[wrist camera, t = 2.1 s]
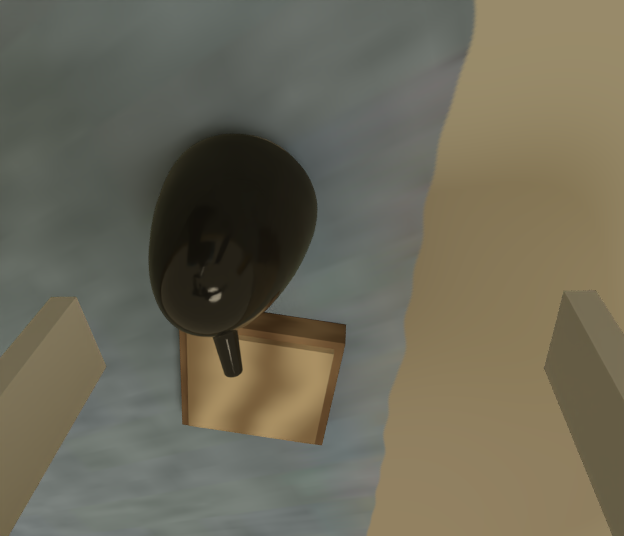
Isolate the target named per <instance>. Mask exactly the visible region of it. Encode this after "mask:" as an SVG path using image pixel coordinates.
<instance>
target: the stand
mask: <svg viewBox="0 0 624 536" xmlns="http://www.w3.org/2000/svg"><path fill="white" fill-rule="evenodd" d="M179 334H180V364H181V394H182V424H183V425H189V426H195V427H202V428H209V429H215V430H222V431H229V432H235V433H242V434H249V435H255V436H262V437H269V438H275V439H282V440H289V441H295V442H302V443H309V444H317V445H322V443H323V438H324V434H325V430H326V425H327V421H328V417H329V412H330V408H331V404H332V399H333V395H334V391H335V386H336V382H337V378H338V373H339V369H340V364H341V360H342V356H343V351H344V347H345V337H346V325H344V324H337V323H331V322H324V321H318V320H311V319H305V318H298V317H291V316H285V315H278V314H272V313H265V312H263V313H262V314H261V315H260V316H259V317H258V318H256V319H255V320H254V321H252V322H251V323H250V324H248V325H247V326H245V327H242V328H240V329H238V337H239V344H240V351H241V359H242V366H243V371H242V373H241V374H240V375H239V376H237V377H233V378H230V377H227V376H225V374H224V371H223V368H222V365H221V362H220V359H219V356H218V353H217V350H216V346H215V343H214V340H213V337H199V336H194V335H190V334H187V333H185V332H183V331H181V330H179Z"/></svg>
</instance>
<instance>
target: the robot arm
mask: <svg viewBox="0 0 624 536" xmlns="http://www.w3.org/2000/svg"><path fill="white" fill-rule="evenodd" d="M105 368H106V365H105V362H104V360H103V358H102V355H101V353H100V351H99V349H98V346H97V344H96V342H95V339H94V337H93V335H92V332H91V330H90V328H89V325H88V323H87V321H86V318H85V316H84V314H83V311H82V309H81V307H80V304H79V302H78V300H77V297H51V298H50V299H49V300H48V301H47V302H46V304H45V305H44V306H43V307H42V308H41V310H40V311H39V312H38V313H37V314H36V316H35V317H34V318H33V319H32V320H31V322H30V323H29V324H28V325H27V326H26V328H25V329H24V330H23V331H22V332H21V334H20V335H19V336H18V337H17V338H16V340H15V341H14V342H13V343H12V344H11V346H10V347H9V348H8V349H7V350H6V352H5V353H4V354H3V355H2V356H1V358H0V536H9V534H10V532H11V531H12V529H13V527H14V526H15V524H16V522H17V520H18V519H19V517H20V515H21V513H22V512H23V510H24V508H25V506H26V505H27V503H28V501H29V500H30V498H31V496H32V494H33V493H34V491H35V489H36V487H37V486H38V484H39V482H40V480H41V479H42V477H43V475H44V474H45V472H46V470H47V468H48V467H49V465H50V463H51V461H52V460H53V458H54V456H55V454H56V453H57V451H58V449H59V448H60V446H61V444H62V442H63V441H64V439H65V437H66V435H67V434H68V432H69V430H70V429H71V427H72V425H73V423H74V422H75V420H76V418H77V416H78V415H79V413H80V411H81V409H82V408H83V406H84V404H85V403H86V401H87V399H88V397H89V396H90V394H91V392H92V390H93V389H94V387H95V385H96V383H97V382H98V380H99V378H100V377H101V375H102V373H103V371H104V370H105ZM544 369H545V372H546V374H547V376H548V379H549V381H550V384H551V386H552V389H553V391H554V394H555V396H556V399H557V401H558V404H559V406H560V408H561V411H562V413H563V416H564V418H565V421H566V423H567V426H568V428H569V430H570V433H571V435H572V438H573V440H574V442H575V445H576V447H577V450H578V452H579V455H580V457H581V460H582V462H583V465H584V467H585V469H586V472H587V474H588V477H589V479H590V482H591V484H592V487H593V489H594V492H595V494H596V496H597V499H598V501H599V504H600V506H601V508H602V511H603V513H604V516H605V518H606V521H607V523H608V526H609V528H610V531H611V533H612V536H624V334H623V332H622V331H621V329H620V328H619V326H618V324H617V323H616V321H615V320H614V318H613V317H612V315H611V313H610V312H609V310H608V309H607V307H606V306H605V304H604V302H603V301H602V299H601V298H600V296H599V295H598V293H597V291H596V290H588V291H564V292H563V296H562V300H561V305H560V308H559V312H558V316H557V320H556V324H555V328H554V332H553V336H552V340H551V343H550V347H549V351H548V355H547V359H546V363H545V367H544Z"/></svg>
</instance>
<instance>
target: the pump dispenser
mask: <svg viewBox="0 0 624 536" xmlns="http://www.w3.org/2000/svg"><path fill="white" fill-rule="evenodd" d="M316 221H317V200H316V195H315V191H314V188H313V185H312V183H311V181H310V179H309V177H308V175H307V173H306V172H305V170H304V169H303V168H302V166H301V165H300V164H299V163H298V162H297V161H296V160H295V159H294V158H293V157H292V156H291V155H290V154H289V153H288V152H287V151H285V150H284V149H283V148H281V147H280V146H278V145H277V144H275V143H273V142H271V141H269V140H266V139H264V138H261V137H257V136H253V135H246V134H221V135H216V136H212V137H209V138H206V139H204V140H201V141H199V142H197V143H196V144H194V145H193V146H191V147H190V148H189V149H187V150H186V151H185V152H184V153H183V154H182V155H181V156H180V157H179V158H178V160H177V161H176V162H175V164H174V165H173V167H172V168H171V170H170V171H169V173H168V175H167V177H166V179H165V182H164V184H163V186H162V189H161V192H160V194H159V197H158V200H157V203H156V207H155V211H154V215H153V220H152V225H151V232H150V241H149V256H148V262H149V276H150V283H151V287H152V291H153V294H154V297H155V300H156V302H157V304H158V306H159V308H160V310H161V312H162V313H163V315H164V316H165V317H166V319H167V320H168V321H169V322H170V323H171V324H172V325H174V326H175V327H176V328H178V329H179V330H181V331H183V332H185V333H187V334H190V335H194V336H199V337H213V340H214V343H215V346H216V350H217V353H218V356H219V359H220V362H221V365H222V368H223V371H224V374H225V376H227V377H230V378H233V377H237V376H239V375H240V374H241V373H242V371H243V366H242V359H241V351H240V344H239V337H238V329H240V328H242V327H245V326H247V325H248V324H250V323H251V322H252V321H254V320H255V319H256V318H258V317H259V316H260V315H261V314H262V313H263V312H264V311H266V310H267V309H268V308H269V307H270V306H271V305H272V304H273V302H274V301H275V300H276V299H277V298H278V297H279V296H280V294H281V293H282V292H283V291H284V289H285V288H286V287H287V285H288V284H289V282H290V281H291V280H292V278H293V277H294V275H295V273H296V272H297V270H298V268H299V266H300V265H301V263H302V261H303V259H304V257H305V254H306V252H307V250H308V248H309V245H310V243H311V240H312V237H313V234H314V231H315V226H316Z"/></svg>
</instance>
